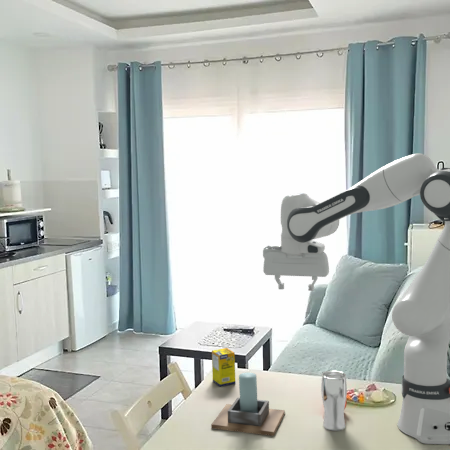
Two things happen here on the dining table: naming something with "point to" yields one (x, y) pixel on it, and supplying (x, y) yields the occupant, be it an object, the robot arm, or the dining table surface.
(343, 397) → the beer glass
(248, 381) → the teal cylinder
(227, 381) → the supplement box
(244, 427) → the cup bracket
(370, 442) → the dining table surface
